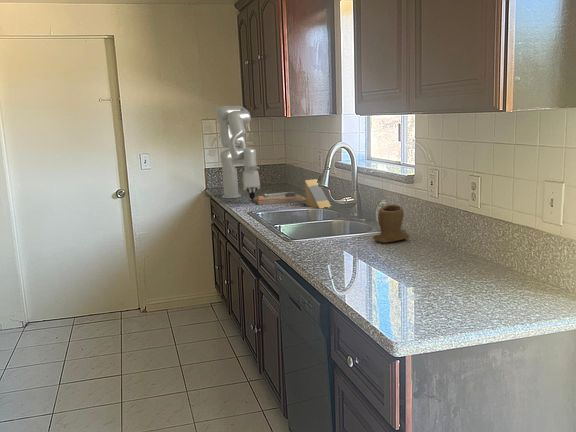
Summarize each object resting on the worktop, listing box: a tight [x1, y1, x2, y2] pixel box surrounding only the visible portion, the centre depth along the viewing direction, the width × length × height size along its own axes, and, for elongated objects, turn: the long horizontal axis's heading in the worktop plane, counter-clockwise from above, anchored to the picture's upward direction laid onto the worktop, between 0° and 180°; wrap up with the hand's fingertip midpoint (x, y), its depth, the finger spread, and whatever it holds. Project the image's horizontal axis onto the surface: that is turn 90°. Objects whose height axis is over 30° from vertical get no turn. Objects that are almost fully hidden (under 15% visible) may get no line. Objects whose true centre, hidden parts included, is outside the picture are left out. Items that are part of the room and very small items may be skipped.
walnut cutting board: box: [251, 193, 306, 206], centre depth 360 cm, size 19×30×2 cm, turn 106°
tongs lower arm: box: [263, 194, 296, 199], centre depth 360 cm, size 23×4×1 cm, turn 106°
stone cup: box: [372, 204, 410, 244], centre depth 236 cm, size 15×12×15 cm
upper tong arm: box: [262, 191, 297, 197], centre depth 360 cm, size 20×4×2 cm, turn 106°
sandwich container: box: [304, 178, 332, 209], centre depth 331 cm, size 9×15×15 cm, turn 30°
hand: (252, 198), depth 352 cm, fingers closed
